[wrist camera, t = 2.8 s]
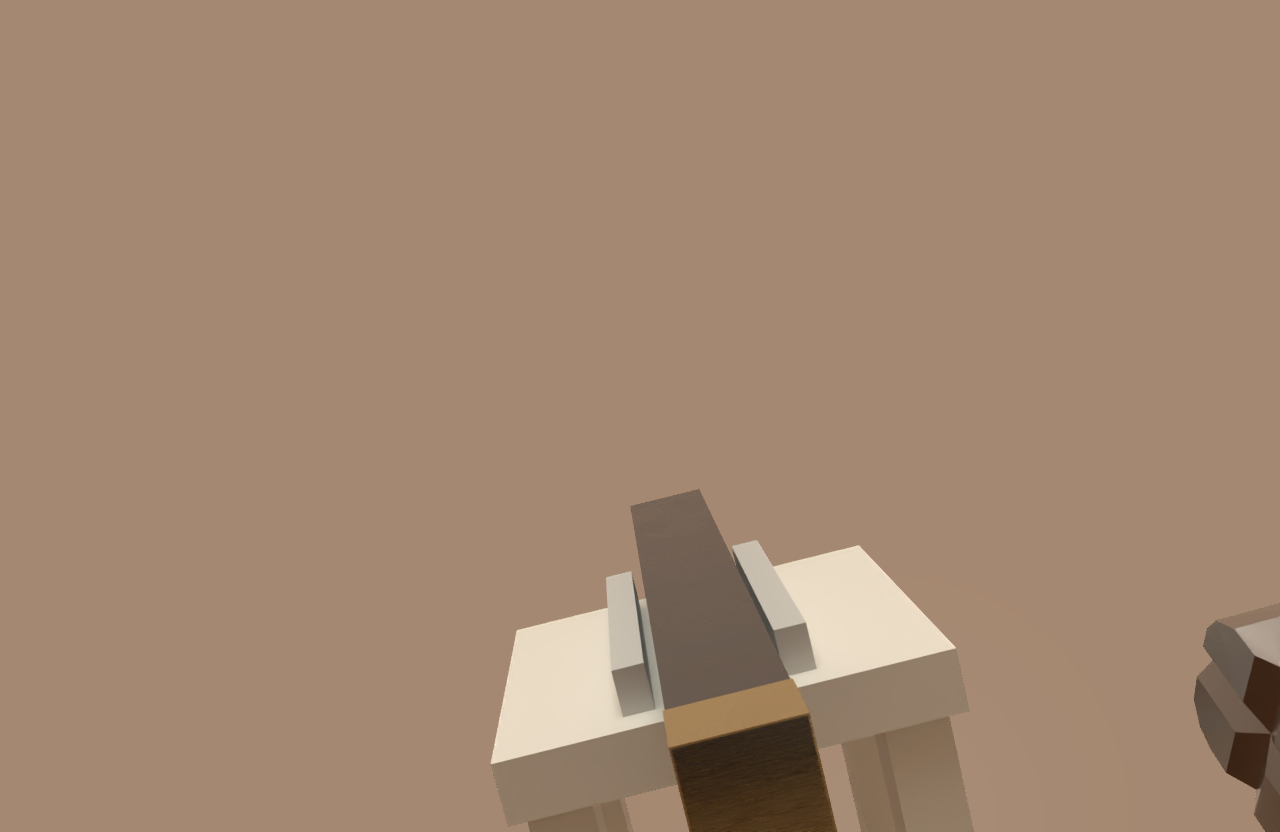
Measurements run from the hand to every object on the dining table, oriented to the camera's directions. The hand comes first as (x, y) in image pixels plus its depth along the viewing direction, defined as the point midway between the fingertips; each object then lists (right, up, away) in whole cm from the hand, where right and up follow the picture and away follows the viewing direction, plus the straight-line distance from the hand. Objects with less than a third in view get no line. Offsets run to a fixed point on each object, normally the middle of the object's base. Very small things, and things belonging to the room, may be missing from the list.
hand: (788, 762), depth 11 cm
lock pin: (+1, -5, +26) cm, 26 cm away
